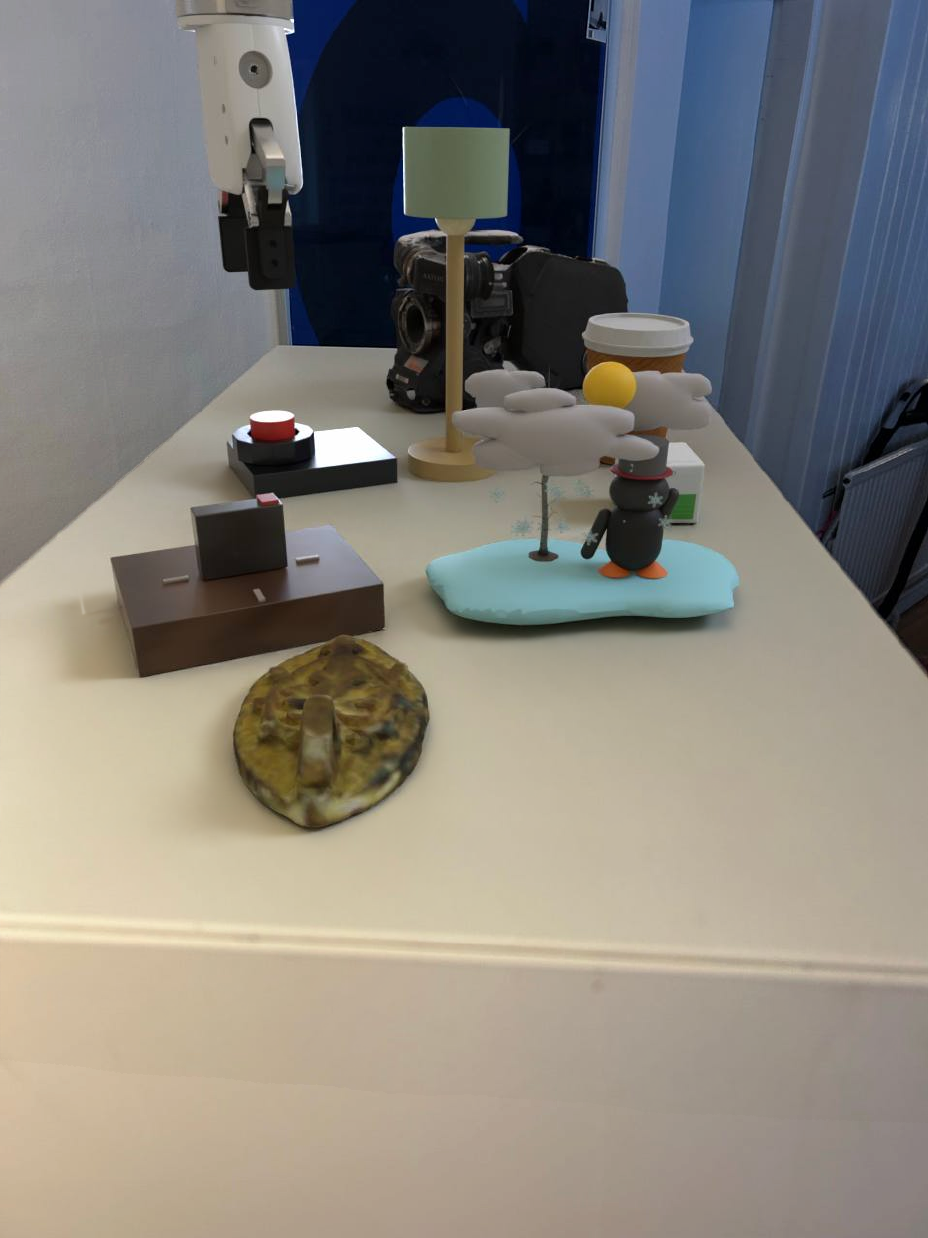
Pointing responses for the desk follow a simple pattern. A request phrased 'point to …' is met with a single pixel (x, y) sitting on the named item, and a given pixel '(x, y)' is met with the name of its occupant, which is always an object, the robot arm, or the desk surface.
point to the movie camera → (495, 313)
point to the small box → (684, 482)
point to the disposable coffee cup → (638, 347)
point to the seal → (330, 731)
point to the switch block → (310, 462)
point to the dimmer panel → (244, 602)
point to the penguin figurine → (572, 445)
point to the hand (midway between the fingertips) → (258, 279)
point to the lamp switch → (272, 425)
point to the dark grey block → (239, 537)
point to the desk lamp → (453, 257)
